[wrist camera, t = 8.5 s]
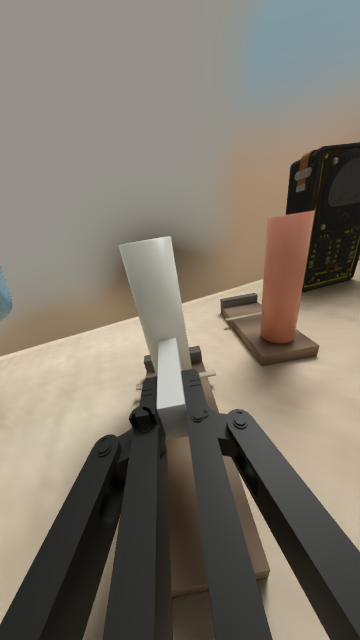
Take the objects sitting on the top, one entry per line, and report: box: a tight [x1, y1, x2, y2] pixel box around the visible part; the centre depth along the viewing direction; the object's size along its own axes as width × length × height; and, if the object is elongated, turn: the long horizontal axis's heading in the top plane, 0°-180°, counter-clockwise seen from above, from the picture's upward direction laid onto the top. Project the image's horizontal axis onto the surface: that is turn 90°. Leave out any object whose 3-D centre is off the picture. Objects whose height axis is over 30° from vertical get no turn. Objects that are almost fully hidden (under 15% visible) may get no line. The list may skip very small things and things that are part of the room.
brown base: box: [220, 293, 319, 366], centre depth 29 cm, size 16×9×3 cm, turn 6°
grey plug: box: [119, 236, 192, 376], centre depth 17 cm, size 4×4×14 cm
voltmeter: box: [286, 142, 360, 292], centre depth 38 cm, size 16×9×25 cm, turn 105°
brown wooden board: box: [136, 346, 270, 598], centre depth 16 cm, size 16×9×3 cm, turn 6°
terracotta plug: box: [260, 211, 315, 343], centre depth 21 cm, size 4×4×14 cm
